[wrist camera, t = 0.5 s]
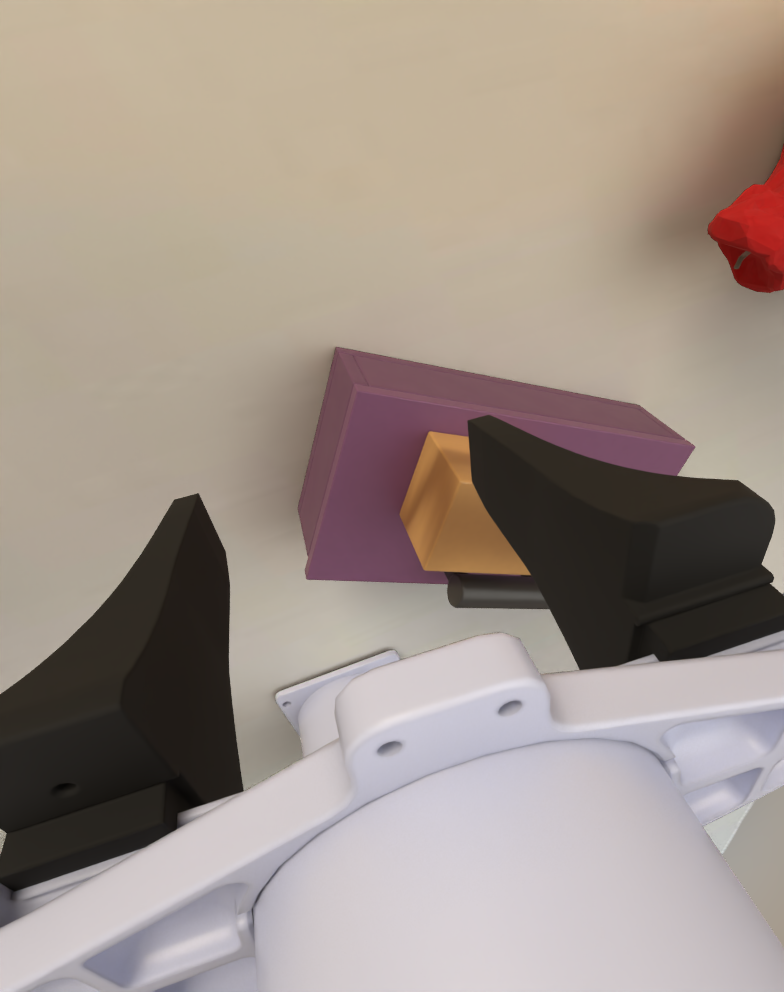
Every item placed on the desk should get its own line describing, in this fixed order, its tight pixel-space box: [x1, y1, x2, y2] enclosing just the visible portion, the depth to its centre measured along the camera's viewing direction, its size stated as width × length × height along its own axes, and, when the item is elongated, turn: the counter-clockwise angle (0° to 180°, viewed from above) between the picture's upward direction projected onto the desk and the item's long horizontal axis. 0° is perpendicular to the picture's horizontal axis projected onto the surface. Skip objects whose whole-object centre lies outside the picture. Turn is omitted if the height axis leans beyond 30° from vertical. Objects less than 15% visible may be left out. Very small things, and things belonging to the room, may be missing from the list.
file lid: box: [305, 384, 695, 609], centre depth 24 cm, size 9×16×4 cm, turn 73°
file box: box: [298, 347, 685, 556], centre depth 26 cm, size 8×16×4 cm, turn 72°
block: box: [399, 431, 531, 575], centre depth 22 cm, size 4×5×4 cm
